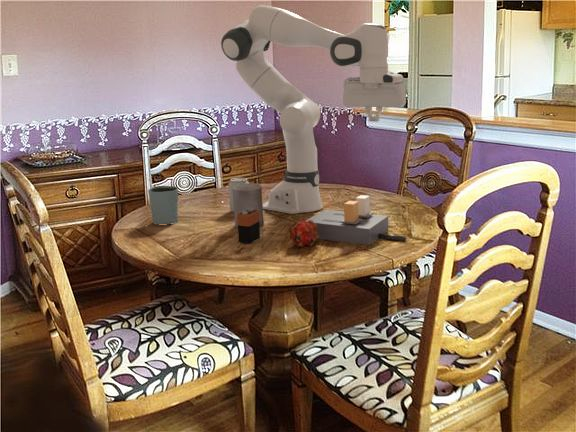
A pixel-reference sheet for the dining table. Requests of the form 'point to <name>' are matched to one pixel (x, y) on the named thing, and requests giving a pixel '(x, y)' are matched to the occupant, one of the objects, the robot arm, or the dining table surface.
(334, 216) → the breaker strip
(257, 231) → the battery
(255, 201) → the pillar candle
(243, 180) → the can
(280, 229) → the dining table surface
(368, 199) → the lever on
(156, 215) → the grey bin
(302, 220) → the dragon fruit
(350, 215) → the orange block
